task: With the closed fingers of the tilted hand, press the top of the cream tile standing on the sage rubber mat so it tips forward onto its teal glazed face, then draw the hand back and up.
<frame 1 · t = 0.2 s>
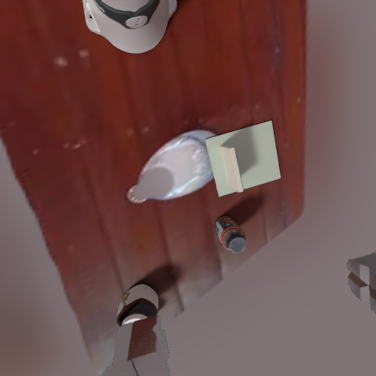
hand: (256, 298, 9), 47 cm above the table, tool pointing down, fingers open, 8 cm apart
supplement bottle: (223, 224, 61), on the table
tile: (225, 165, 56), resting on mat
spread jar: (141, 300, 64), on the table
mat: (244, 159, 57), on the table
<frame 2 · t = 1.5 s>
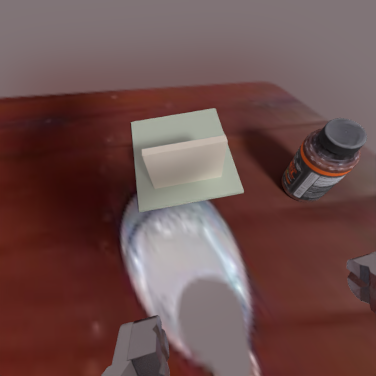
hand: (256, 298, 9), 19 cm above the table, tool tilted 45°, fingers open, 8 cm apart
supplement bottle: (300, 186, 33), on the table
tile: (187, 179, 33), resting on mat
mat: (181, 155, 36), on the table
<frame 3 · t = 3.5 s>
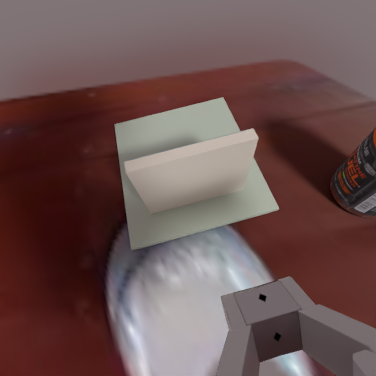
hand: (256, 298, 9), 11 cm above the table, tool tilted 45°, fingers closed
supplement bottle: (357, 193, 23), on the table
tile: (196, 197, 24), resting on mat
mat: (185, 162, 26), on the table
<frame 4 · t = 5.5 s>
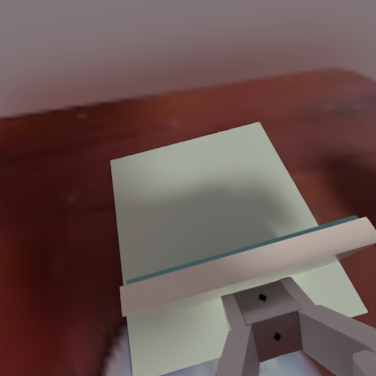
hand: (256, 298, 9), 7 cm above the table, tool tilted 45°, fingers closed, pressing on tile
tile: (233, 286, 15), point 1 cm above the table, touching gripper, mat
mat: (211, 222, 18), on the table
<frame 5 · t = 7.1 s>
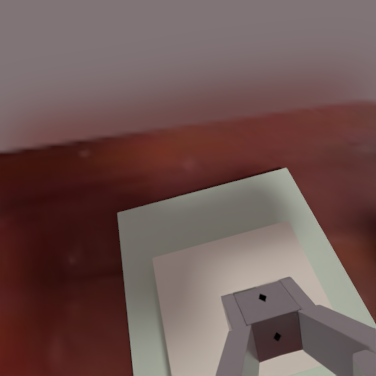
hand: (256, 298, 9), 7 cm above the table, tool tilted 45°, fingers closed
mat: (237, 297, 16), on the table
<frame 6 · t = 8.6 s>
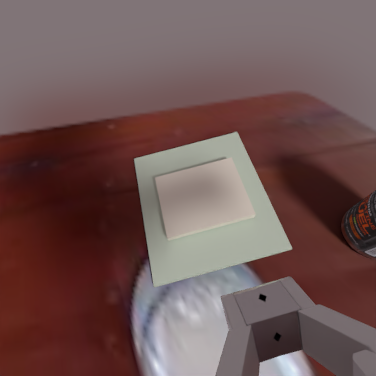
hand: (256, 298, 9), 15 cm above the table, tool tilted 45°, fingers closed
supplement bottle: (367, 233, 24), on the table
tile: (211, 227, 25), point 1 cm above the table, tilted 90°, touching mat
mat: (202, 199, 28), on the table
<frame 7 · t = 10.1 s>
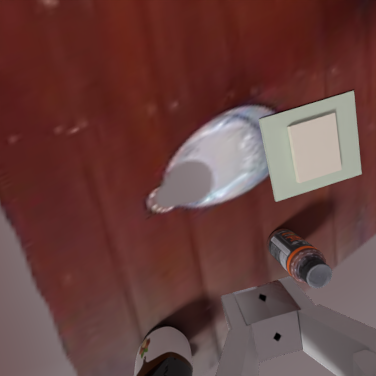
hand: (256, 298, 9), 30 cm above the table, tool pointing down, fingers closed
supplement bottle: (280, 241, 44), on the table
tile: (293, 155, 39), point 1 cm above the table, tilted 90°, touching mat
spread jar: (165, 346, 46), on the table
mat: (311, 148, 40), on the table
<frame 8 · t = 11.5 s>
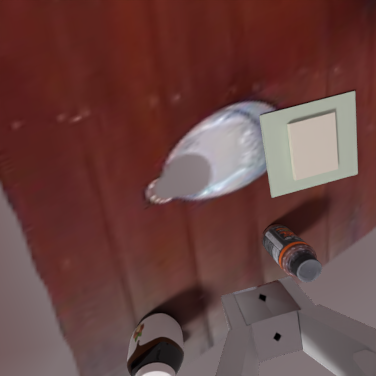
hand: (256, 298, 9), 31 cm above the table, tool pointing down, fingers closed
supplement bottle: (274, 236, 45), on the table
tile: (291, 152, 39), point 1 cm above the table, tilted 90°, touching mat
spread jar: (159, 332, 48), on the table
mat: (310, 146, 41), on the table
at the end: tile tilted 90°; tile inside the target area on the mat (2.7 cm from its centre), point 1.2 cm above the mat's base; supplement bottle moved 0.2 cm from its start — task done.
